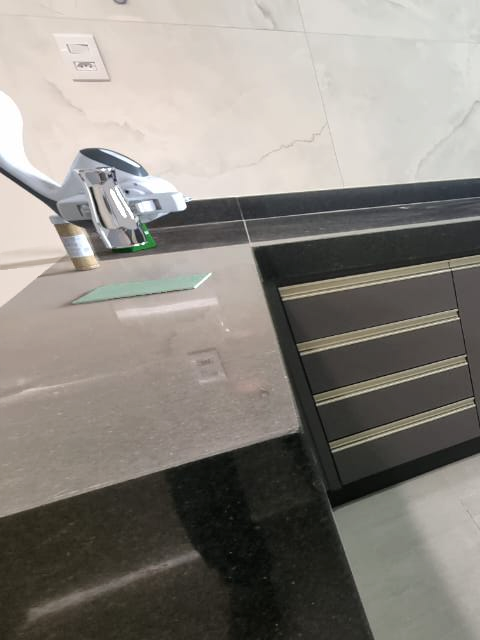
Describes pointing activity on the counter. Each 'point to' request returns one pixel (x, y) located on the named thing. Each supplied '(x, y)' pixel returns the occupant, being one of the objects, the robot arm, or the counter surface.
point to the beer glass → (110, 208)
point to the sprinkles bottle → (75, 243)
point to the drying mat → (143, 288)
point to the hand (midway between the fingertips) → (110, 210)
